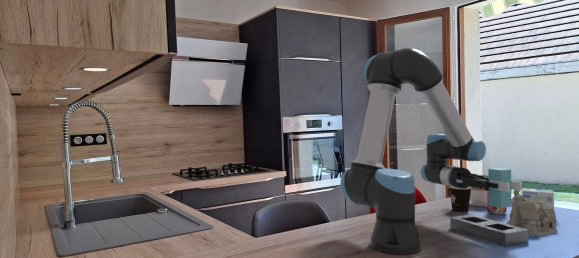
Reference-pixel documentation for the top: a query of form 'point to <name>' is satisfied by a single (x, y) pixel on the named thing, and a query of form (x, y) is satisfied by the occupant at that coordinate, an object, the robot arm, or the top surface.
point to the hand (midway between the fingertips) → (514, 186)
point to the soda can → (495, 209)
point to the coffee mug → (460, 199)
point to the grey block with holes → (489, 230)
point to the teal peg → (496, 196)
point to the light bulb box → (539, 196)
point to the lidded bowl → (478, 196)
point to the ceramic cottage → (532, 216)
